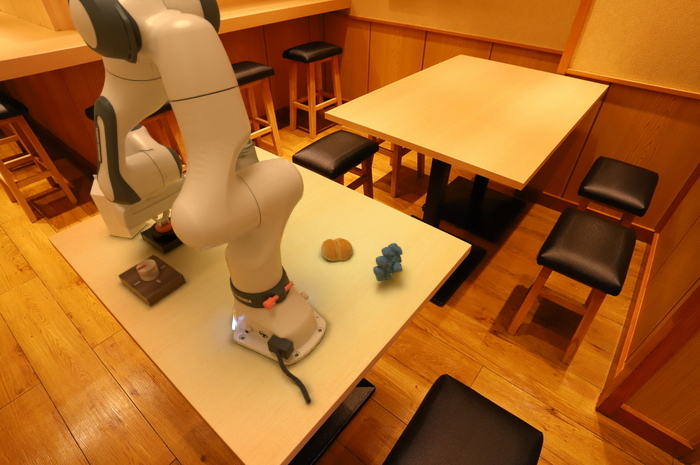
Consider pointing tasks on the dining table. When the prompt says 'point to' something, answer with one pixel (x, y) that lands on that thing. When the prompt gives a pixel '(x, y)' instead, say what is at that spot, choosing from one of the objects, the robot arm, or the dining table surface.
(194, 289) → the dining table surface
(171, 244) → the button base
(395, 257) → the grapes
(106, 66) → the robot arm
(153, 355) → the dining table surface
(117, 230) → the milk carton
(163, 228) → the round orange button
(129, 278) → the dial panel
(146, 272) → the dial knob
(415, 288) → the dining table surface
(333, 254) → the bread roll
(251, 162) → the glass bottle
